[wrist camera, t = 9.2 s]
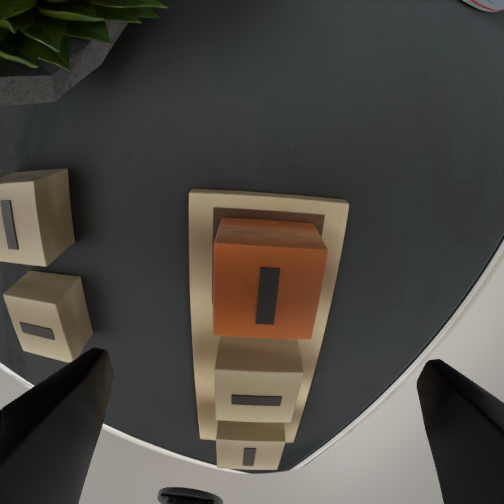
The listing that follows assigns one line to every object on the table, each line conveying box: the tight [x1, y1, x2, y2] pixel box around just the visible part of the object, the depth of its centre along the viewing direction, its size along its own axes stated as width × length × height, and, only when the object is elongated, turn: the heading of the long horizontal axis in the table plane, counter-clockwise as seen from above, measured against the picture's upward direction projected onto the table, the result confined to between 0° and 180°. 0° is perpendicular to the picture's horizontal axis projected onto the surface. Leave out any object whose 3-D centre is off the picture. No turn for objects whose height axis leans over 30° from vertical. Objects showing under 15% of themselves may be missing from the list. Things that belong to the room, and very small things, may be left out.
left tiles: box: [0, 168, 93, 363], centre depth 14 cm, size 10×4×3 cm, turn 176°
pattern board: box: [189, 189, 349, 443], centre depth 17 cm, size 18×7×1 cm, turn 176°
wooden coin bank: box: [213, 217, 328, 339], centre depth 13 cm, size 4×4×3 cm
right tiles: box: [215, 336, 304, 470], centre depth 17 cm, size 10×4×3 cm, turn 176°
